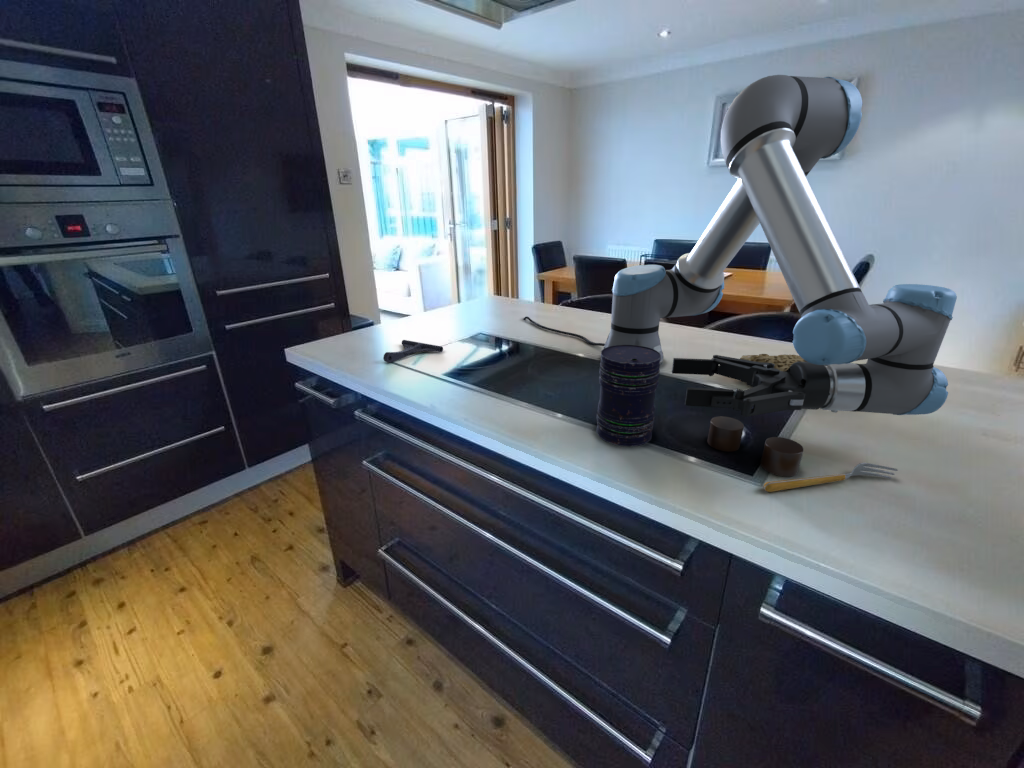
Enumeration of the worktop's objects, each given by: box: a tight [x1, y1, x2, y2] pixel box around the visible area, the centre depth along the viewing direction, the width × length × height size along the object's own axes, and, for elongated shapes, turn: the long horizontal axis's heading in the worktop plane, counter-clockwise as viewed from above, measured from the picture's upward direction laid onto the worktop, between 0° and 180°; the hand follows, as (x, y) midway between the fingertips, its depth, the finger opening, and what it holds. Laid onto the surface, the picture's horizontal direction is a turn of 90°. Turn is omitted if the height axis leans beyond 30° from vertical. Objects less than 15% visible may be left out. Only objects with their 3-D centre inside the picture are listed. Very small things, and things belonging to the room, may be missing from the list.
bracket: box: [383, 339, 444, 364], centre depth 121 cm, size 14×15×3 cm
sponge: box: [738, 353, 807, 383], centre depth 95 cm, size 13×8×20 cm
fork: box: [763, 462, 899, 493], centre depth 63 cm, size 2×2×20 cm
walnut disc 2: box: [760, 436, 805, 478], centre depth 67 cm, size 5×5×4 cm
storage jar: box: [596, 345, 661, 448], centre depth 76 cm, size 10×10×15 cm
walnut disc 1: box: [706, 415, 745, 453], centre depth 74 cm, size 5×5×4 cm
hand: (678, 379), depth 73 cm, fingers open, 13 cm apart
